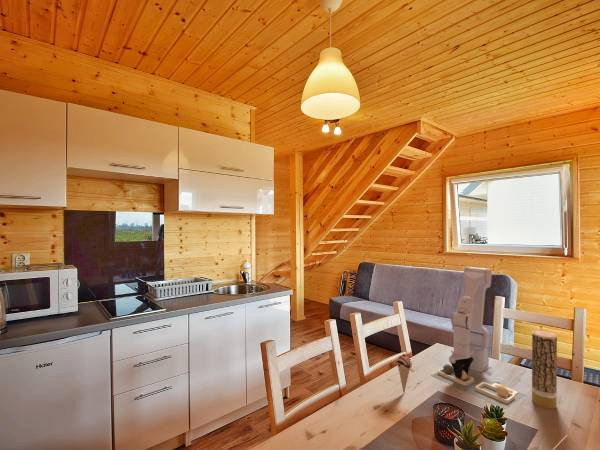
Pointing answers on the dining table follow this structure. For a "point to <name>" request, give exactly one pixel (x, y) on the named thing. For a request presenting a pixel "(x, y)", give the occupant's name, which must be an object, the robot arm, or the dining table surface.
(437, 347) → the dining table surface
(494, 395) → the sorting board
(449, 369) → the charcoal ball
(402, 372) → the ice cream cone
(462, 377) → the tan ball
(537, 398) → the bark log
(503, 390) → the tan ball
